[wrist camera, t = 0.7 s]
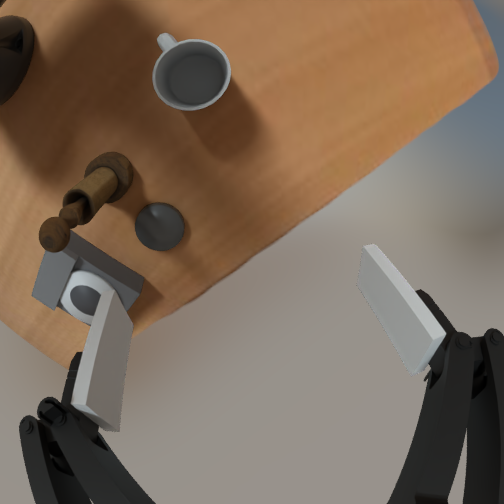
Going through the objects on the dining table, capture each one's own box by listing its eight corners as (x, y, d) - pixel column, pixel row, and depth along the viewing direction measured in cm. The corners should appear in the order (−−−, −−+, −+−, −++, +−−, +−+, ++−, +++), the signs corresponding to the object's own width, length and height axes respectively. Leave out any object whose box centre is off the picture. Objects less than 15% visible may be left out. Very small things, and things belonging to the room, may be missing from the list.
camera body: (42, 277, 39) (31, 295, 35) (63, 224, 35) (48, 241, 31) (113, 320, 46) (107, 341, 42) (144, 277, 42) (139, 299, 38)
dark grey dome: (128, 229, 38) (126, 233, 37) (153, 192, 35) (152, 196, 34) (166, 254, 41) (165, 258, 40) (194, 221, 38) (193, 225, 38)
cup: (188, 117, 31) (180, 125, 23) (143, 60, 26) (122, 50, 18) (237, 85, 29) (246, 82, 22) (193, 26, 24) (187, 6, 17)
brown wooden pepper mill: (107, 141, 30) (34, 189, 15) (142, 171, 34) (94, 239, 18) (82, 179, 32) (11, 246, 17) (115, 206, 35) (64, 288, 20)
